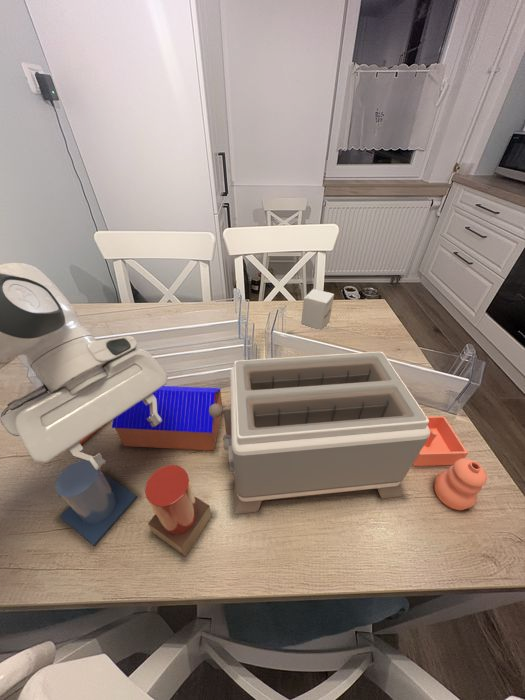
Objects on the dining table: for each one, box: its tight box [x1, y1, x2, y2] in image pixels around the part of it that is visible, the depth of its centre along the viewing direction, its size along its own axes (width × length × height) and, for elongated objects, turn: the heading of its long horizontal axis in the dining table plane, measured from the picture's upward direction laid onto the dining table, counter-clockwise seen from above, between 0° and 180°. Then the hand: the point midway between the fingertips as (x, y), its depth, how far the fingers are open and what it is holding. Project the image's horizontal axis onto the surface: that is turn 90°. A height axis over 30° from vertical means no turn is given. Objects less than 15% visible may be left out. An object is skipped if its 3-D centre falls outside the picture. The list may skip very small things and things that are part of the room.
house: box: [111, 385, 223, 451], centre depth 63 cm, size 12×20×12 cm, turn 87°
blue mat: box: [59, 472, 138, 547], centre depth 52 cm, size 9×9×1 cm
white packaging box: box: [300, 288, 335, 330], centre depth 93 cm, size 7×7×13 cm
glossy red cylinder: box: [144, 464, 198, 535], centre depth 45 cm, size 6×6×10 cm
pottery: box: [412, 415, 488, 511], centre depth 56 cm, size 18×10×10 cm, turn 2°
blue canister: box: [54, 459, 117, 524], centre depth 49 cm, size 6×6×10 cm
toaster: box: [209, 351, 430, 515], centre depth 54 cm, size 19×34×20 cm, turn 96°
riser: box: [147, 495, 213, 557], centre depth 49 cm, size 7×7×4 cm
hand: (131, 444), depth 44 cm, fingers open, 8 cm apart
